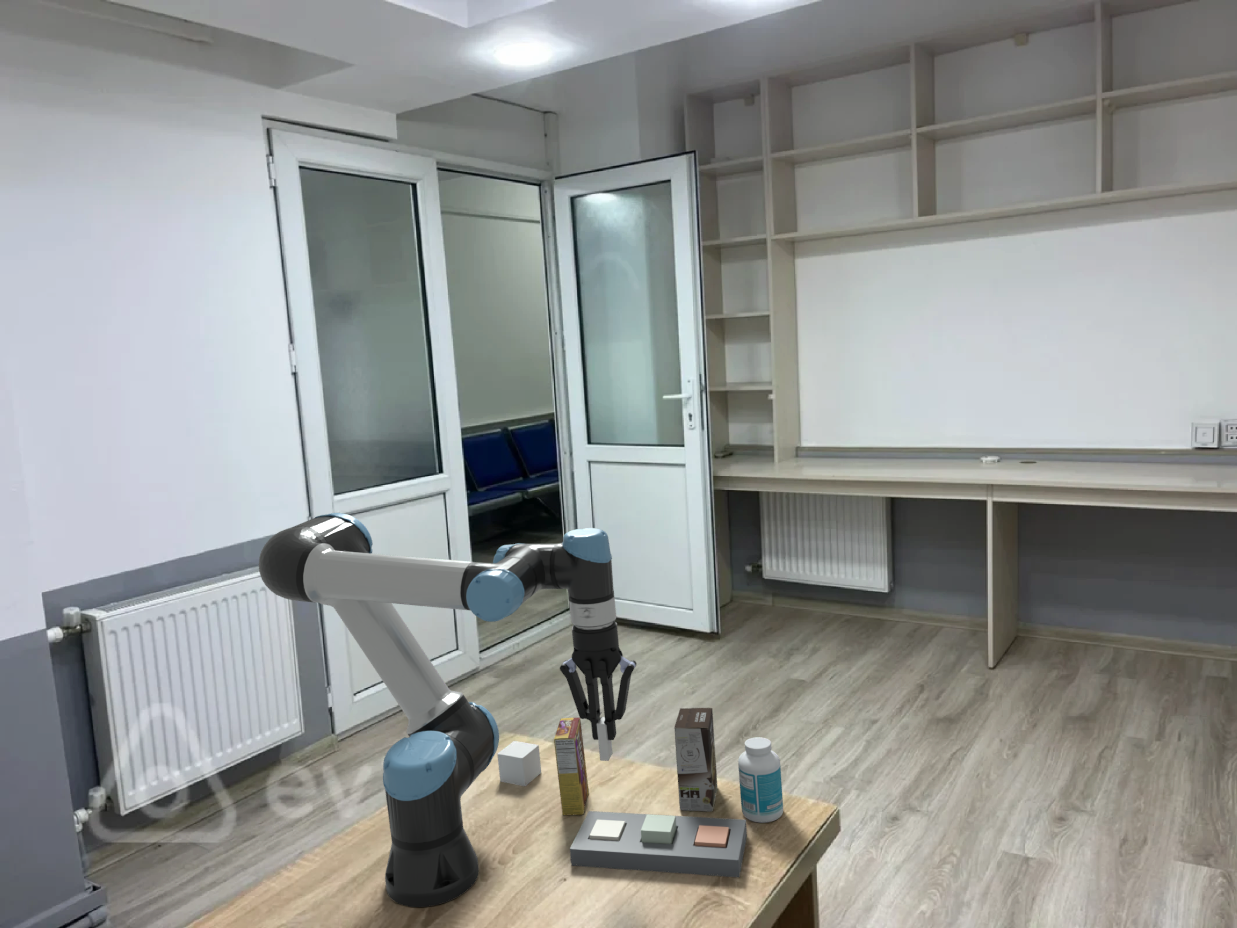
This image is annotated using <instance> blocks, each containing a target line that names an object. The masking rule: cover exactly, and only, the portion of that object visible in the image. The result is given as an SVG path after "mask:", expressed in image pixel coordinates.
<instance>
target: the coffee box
mask: <svg viewBox="0 0 1237 928" xmlns="http://www.w3.org/2000/svg"><path fill="white" fill-rule="evenodd" d="M714 727H715V726H714V712H713V708H712V707H691V708H688V707H687V708H683V707H681V708H679V711H678V715H677V718H676V720H675V725H674V728H673V729H674V739H675V740H674V741H675V742H674V743H675V755H676V756H675V757H676V758H675V759H676V772H677V773H676V774H677V787H678V788H677V789H678V799H679V800H678V804H679V810H680V811H690V812H691V811H692V812H713V811H714V808H715V803H716V796H717V793H718V774H717V758H716V757H717V756H716V745H715V743H716V742H715V731H714V729H715V728H714Z"/></svg>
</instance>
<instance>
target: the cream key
mask: <svg viewBox="0 0 1237 928" xmlns="http://www.w3.org/2000/svg"><path fill="white" fill-rule="evenodd" d="M624 830H625V821H614V820H597V821H596V823H595V825H594V827H593V829H592V831H591V833H590V839H595V840H611V841H620V839H621V837H622V834H623V832H624Z"/></svg>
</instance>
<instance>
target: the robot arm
mask: <svg viewBox="0 0 1237 928" xmlns="http://www.w3.org/2000/svg"><path fill="white" fill-rule="evenodd" d="M609 539H610V538H609V536H608V533H607V532H606V531H605V530H603V529H601V528H596V527H586V528H576V529H572V530H570V531H566V533H565V534H564V535H563V537H562V542H559V543H521V542H518V543H515V544H514V543H513V544H504V545H501V546H500V547H498V549H496V553H495V554H494V556H493V561H492V562H491V563H490V562H480V561H478V562H477V561H476V562H475V561H468V560H467V561H466V560H455V559H442V558H429V557H418V556H405V555H396V554H395V555H394V554H393V555H392V554H383V553H382V554H381V553H373V548H372V547H373V540H372V536H371V533H370V531H369V530H368V527H366V526H365V525H364V524H363V522H362V521H361V520H359V519H358V518H357V517H355V516H352V515H350V514H347V513H343V512H332V513H328V514H327V513H326V514H321V515H317V516H315V517H313V518H311V519H308V520H306V521H304V522H301V523H299V524H296V525H293V526H292V527H288V528H286V529H283V530H280V531H278V532H277V533H275V534H274V535H272V536H271V537H270V538H269V539H268V540H267V541H266V543H265V544H264V546H263V547H262V549H261V550H260V551H261V552H260V555H259V558H258V571H259V575H260V578H261V581H262V582H263V584H264V585H265V586H266V588H267V589H268V590H269V591H270V592H271V593H273V594H274V595H276V596H278V597H281V598H284V599H287V600H290V601H297V602H302V603H303V602H304V603H305V602H306V603H314V604H315V603H317V604H320V605H324V606H330V607H332V608H333V609H334V611H335V612H336V613H337V615H338V616H339V618H340V619H341V621H342V622H343V624H344V625H345V627H346V628H347V629H348V631H349V632H350V634H351V636H352V637H353V639H354V640H355V642H356V643H357V645H358V646H359V648H360V649H361V651H362V652H363V653H364V655H365V657H366V658H367V659H368V661H369V663H370V664H371V666H372V667H373V668H374V670H375V672H376V673H377V674H378V677H380V679H381V681H382V682H383V683H384V685H385V686H386V689H387V690H388V691H389V692H390V694H391V696H392V697H393V699H394V700H395V701H396V703H397V704H398V706H399V707H400V708H401V710H402V712H403V714H404V715H405V716H406V718H407V720H408V724H407V728H406V734H407V736H408V737H406V736H405V737H403V738H401V739H400V740H397V741H396V742H395V743H393V745H391V747H390V748H389V749H388V750H387V752H386V753H385V755H384V758H383V762H382V763H383V765H382V769H383V771H382V782H383V787H384V792H385V800H386V808H387V815H388V823H389V830H390V831H389V832H390V839H391V846H390V850H389V855H388V860H387V865H386V869H385V874H384V883H385V887H386V888H385V891H386V894H387V895H388V897H389V898H390V900H392V901H394V902H395V903H397V904H399V905H401V906H406V907H411V908H427V907H432V906H438V905H441V904H445V903H448V902H450V901H452V900H454V899H456V898H458V897H460V896H462V895H463V894H465V893H467V892H468V890H470V889H471V888H472V886H473V885H475V883H476V881H477V879H478V877H479V874H480V870H479V869H480V867H479V860H478V859H479V858H478V855H477V853H476V851H475V849H474V847H473V845H472V843H471V841H470V839H469V836H468V834H467V833H466V830H465V829H464V822H463V812H462V803H461V798H462V796H463V795H464V793H466V791H467V790H468V789H469V788H470V786H472V784H473V783H474V782H475V780H476V779H477V778H478V777H479V776H480V775H481V774H482V773H483V772H484V771H485V770H486V769H487V768H488V766H489V765H490V764H491V762H492V760H493V758H494V757H495V755H496V754H497V750H498V748H499V743H500V733H499V727H498V723H497V721H496V719H495V717H494V716H493V714H492V713H491V712H490V711H489V710H488V709H487V708H486V707H484V706H483V705H481V704H477V703H476V702H473V701H468V699H467V698H466V696H465V694H464V693H463V691H462V692H461V691H456V690H455V691H454V690H451V689H450V688H449V687H448V685H447V684H446V682H445V681H444V679H443V677H442V676H441V675H440V673H439V672H438V670H437V669H436V667H435V666H434V664H433V662H432V661H431V660H430V659H429V657H428V655H427V654H426V652H425V651H424V649H423V648H422V646H421V645H420V644H419V641H418V640H417V639H416V638H415V636H414V635H413V633H412V632H411V630H410V629H409V627H408V626H407V624H406V623H405V621H404V620H403V618H402V617H401V615H400V614H399V611H397V609H396V607H395V605H408V606H415V607H416V606H418V607H429V608H437V609H438V608H439V609H440V608H441V609H449V610H458V611H459V610H460V611H471V613H472V614H473V615H474V616H476V617H477V618H478V619H480V620H482V621H485V622H490V623H493V622H494V623H495V622H498V621H499V622H500V621H501V620H503V619H506V618H507V617H509V616H511V615H513V614H514V613H515V612H516V611H517V610H518V609H519V608H520V607H521V606H522V605H523V604H524V603H525V602H526V601H527V600H528V599H530V598H531V597H532V596H534V595H535V594H536V593H537V592H538V591H540V590H563V589H566V590H567V593H568V594H567V595H568V603H569V612H570V613H569V614H570V622H571V624H572V627H571V633H572V634H571V635H572V644H573V645H572V647H573V651H572V654H571V658H569V659H566V660H564V661H563V662H562V664H561V665H560V666H559V671H560V672H561V673H562V674H563V675H562V676H564V677H565V678H566V681H567V684H568V687H569V691H570V693H571V696H572V698H573V702H574V704H575V707H576V711H577V714H578V716H579V717H578V718H580V720H588V721H589V722H590V725H591V736H592V739H593V740H594V741H598V751H599V754H598V755H599V761H600V762H602V761H604V762H609V761H610V759H611V757H612V755H613V744H612V741H614V740H615V738H616V736H617V725H616V721H621V720H622V719H623V716H624V714H625V713H626V709H627V705H628V698H629V690H630V686H631V677H632V674H633V671H634V670H635V668H636V667H637V662H636V660H634V659H632V660H629V659H627V658H626V657H624V655H623V652H622V650H621V649H620V645H619V633H618V632H619V631H618V623H617V622H616V619H617V609H616V601H615V600H616V599H615V590H614V589H615V588H614V578H613V577H614V576H613V563H612V561H613V560H612V559H613V555H612V553H611V547H610V546H611V545H610V541H609ZM393 604H395V605H393ZM619 665H620V672H621V673H622V674H621V677H620V682H619V690H618V695H617V702H616V708H615V696H614V695H615V694H614V686H613V685H614V684H613V673H614V672H615V670H616V668H617V667H618V666H619ZM577 668H578V669H579V670H580V672H581V673H582V674H583V675H584V679H585V685H586V692H587V695H586V694H585V691H584V688H583V685H582V683H581V679H580V676H579V673H578V670H577ZM598 678H599V681H600V685H601V692H602V693H601V695H602V704H603V713H604V714H603V715H604V716H601V714H602V711H601V705H600V695H599V694H600V693H599V684H598V683H599V682H598ZM586 696H587V697H586Z"/></svg>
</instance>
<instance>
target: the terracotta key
mask: <svg viewBox="0 0 1237 928" xmlns="http://www.w3.org/2000/svg"><path fill="white" fill-rule="evenodd" d="M728 841H729V827H718V826H701V825H699V829H698V832H697V836H696V839H695V846H706V847H721V848H727V845H728Z"/></svg>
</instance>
